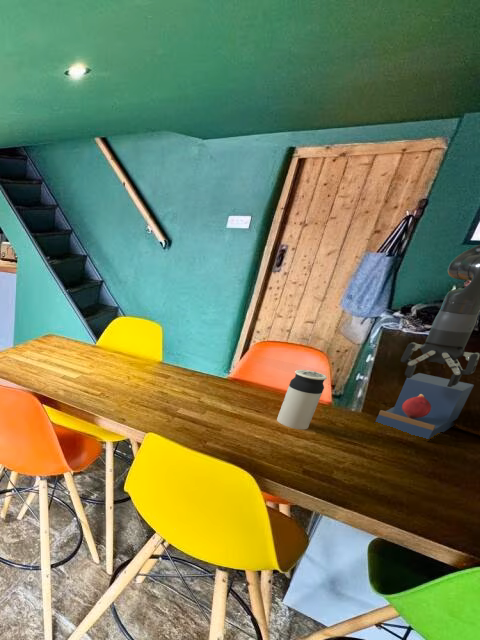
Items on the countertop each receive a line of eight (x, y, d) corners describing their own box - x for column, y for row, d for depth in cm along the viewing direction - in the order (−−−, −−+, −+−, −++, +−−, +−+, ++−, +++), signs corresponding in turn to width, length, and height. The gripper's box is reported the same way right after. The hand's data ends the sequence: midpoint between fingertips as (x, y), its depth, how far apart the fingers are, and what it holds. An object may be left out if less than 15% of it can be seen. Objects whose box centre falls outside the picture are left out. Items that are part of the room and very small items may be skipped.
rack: (402, 411, 137) (419, 372, 132) (453, 425, 127) (474, 384, 122) (373, 425, 127) (390, 384, 122) (426, 442, 117) (447, 398, 112)
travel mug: (313, 431, 124) (335, 377, 117) (294, 434, 122) (315, 379, 115) (287, 419, 131) (306, 368, 124) (269, 422, 129) (288, 370, 122)
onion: (426, 419, 122) (438, 396, 119) (422, 424, 119) (434, 400, 116) (400, 412, 127) (411, 389, 124) (395, 416, 124) (406, 393, 121)
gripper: (495, 331, 108) (469, 387, 114) (421, 321, 120) (401, 372, 126) (486, 335, 105) (460, 392, 111) (411, 324, 117) (390, 376, 123)
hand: (428, 381), depth 118 cm, fingers open, 8 cm apart
